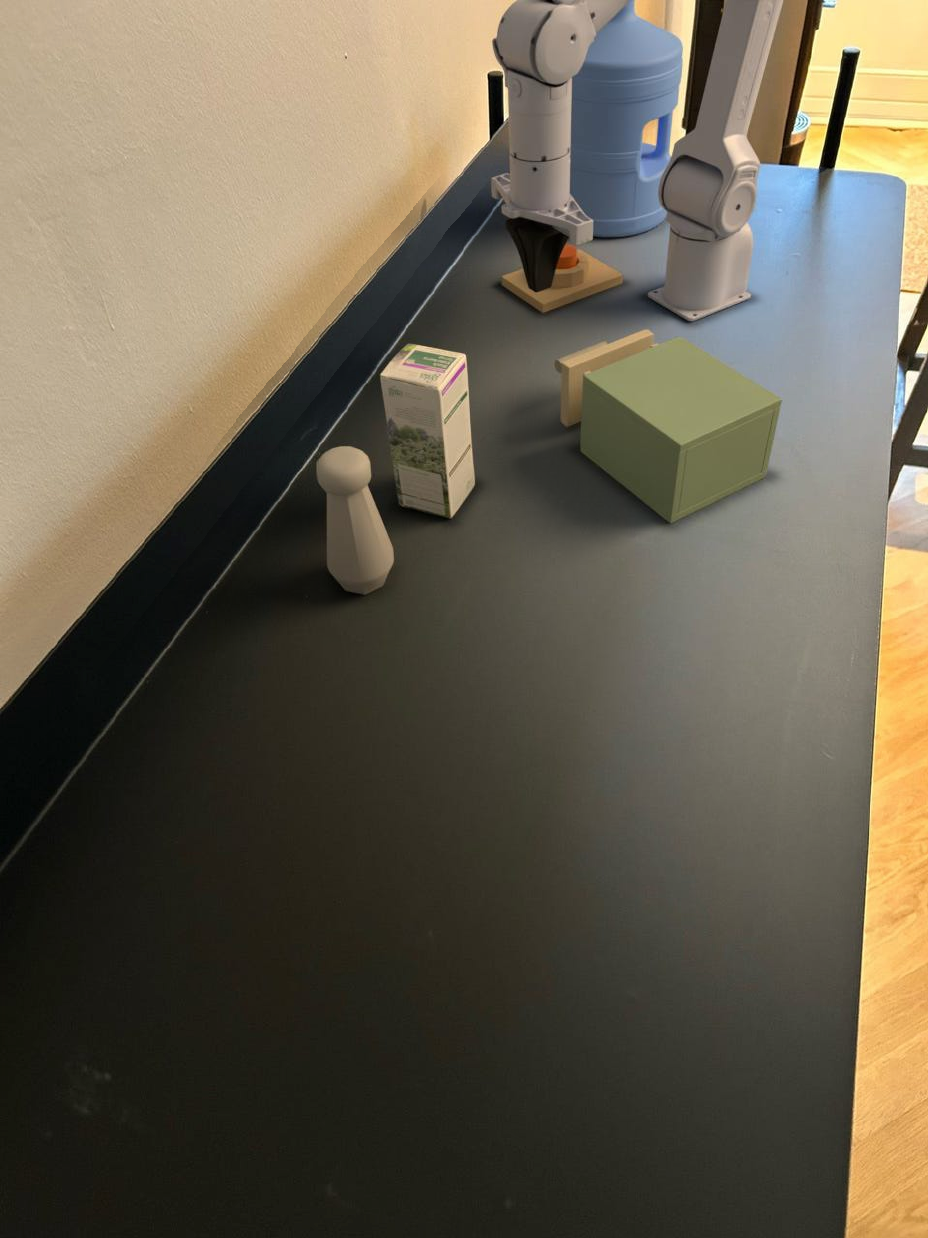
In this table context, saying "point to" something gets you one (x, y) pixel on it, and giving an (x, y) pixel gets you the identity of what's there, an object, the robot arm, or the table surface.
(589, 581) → the table surface
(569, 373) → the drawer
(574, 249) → the button
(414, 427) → the syrup box
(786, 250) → the table surface
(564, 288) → the block
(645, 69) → the water jug
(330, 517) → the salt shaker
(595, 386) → the sage green panel box
